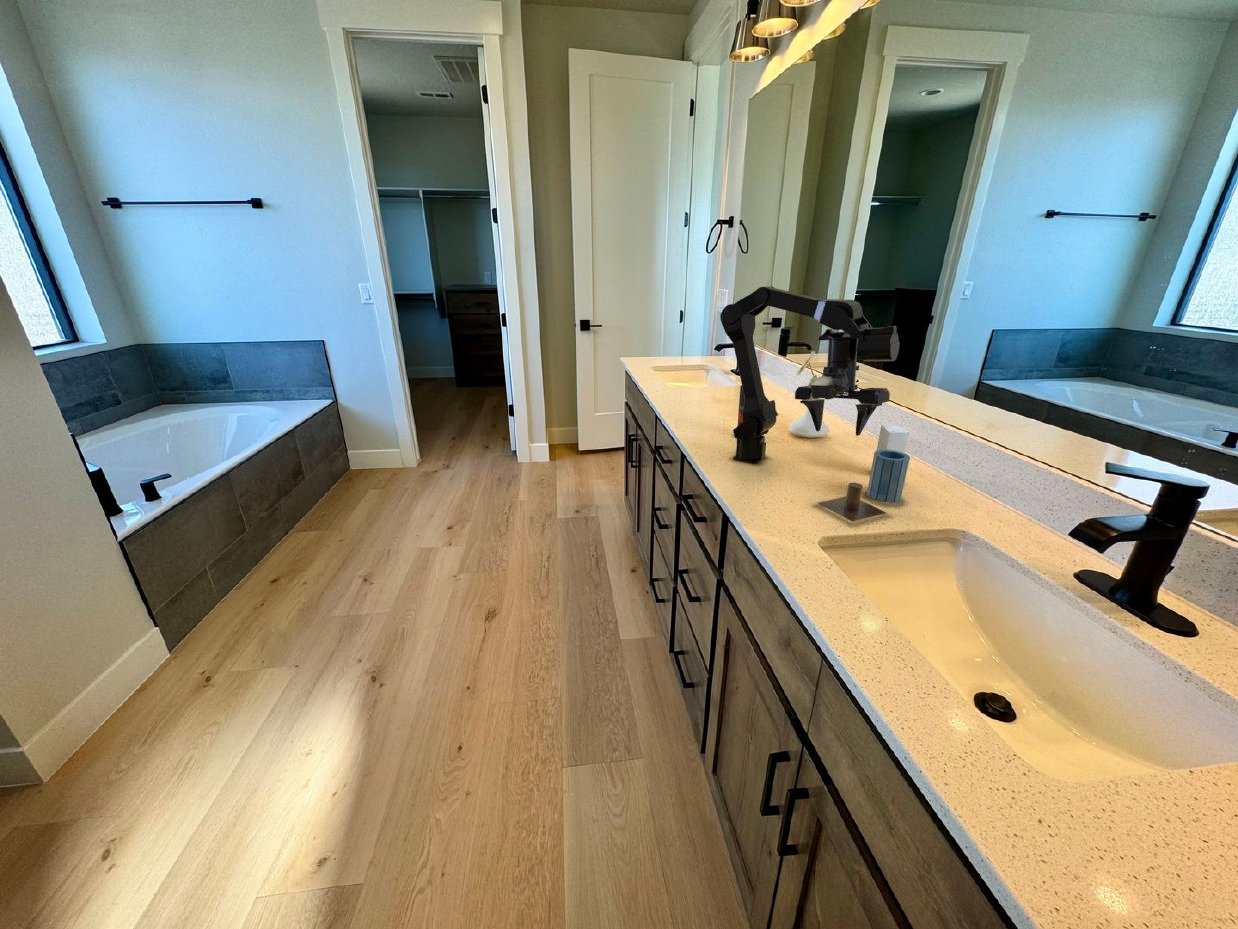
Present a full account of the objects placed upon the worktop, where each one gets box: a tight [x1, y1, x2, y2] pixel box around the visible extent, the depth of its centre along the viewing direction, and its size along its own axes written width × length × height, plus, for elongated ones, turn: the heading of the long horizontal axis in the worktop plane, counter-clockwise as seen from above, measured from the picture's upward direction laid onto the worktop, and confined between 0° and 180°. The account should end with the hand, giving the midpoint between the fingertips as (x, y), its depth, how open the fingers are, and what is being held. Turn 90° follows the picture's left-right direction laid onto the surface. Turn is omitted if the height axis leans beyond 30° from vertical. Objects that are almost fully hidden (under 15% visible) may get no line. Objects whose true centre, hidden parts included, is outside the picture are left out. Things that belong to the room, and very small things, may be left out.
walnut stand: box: [817, 482, 887, 523], centre depth 98 cm, size 9×9×6 cm
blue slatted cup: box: [866, 450, 911, 503], centre depth 103 cm, size 6×6×10 cm
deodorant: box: [736, 384, 745, 427], centre depth 143 cm, size 6×6×15 cm
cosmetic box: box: [875, 424, 910, 454], centre depth 113 cm, size 6×4×12 cm
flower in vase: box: [788, 350, 830, 438], centre depth 141 cm, size 13×11×25 cm
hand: (837, 433), depth 109 cm, fingers open, 9 cm apart
